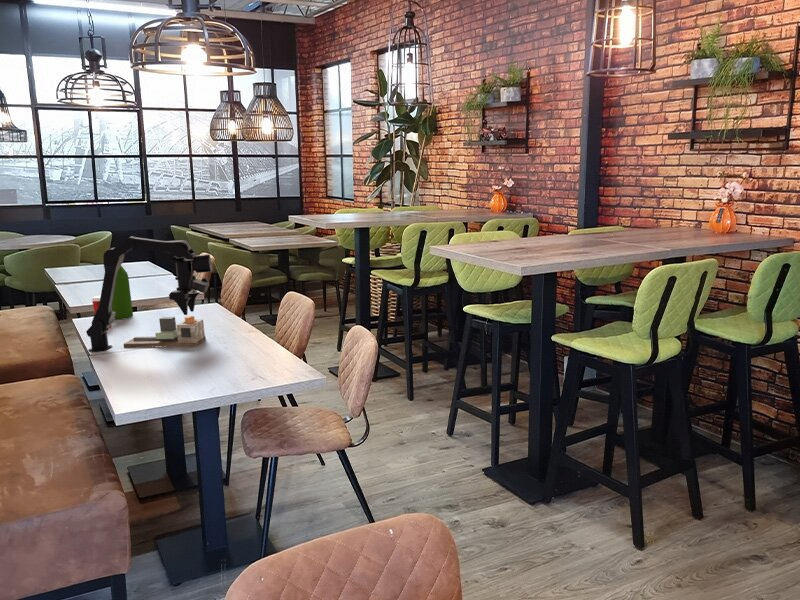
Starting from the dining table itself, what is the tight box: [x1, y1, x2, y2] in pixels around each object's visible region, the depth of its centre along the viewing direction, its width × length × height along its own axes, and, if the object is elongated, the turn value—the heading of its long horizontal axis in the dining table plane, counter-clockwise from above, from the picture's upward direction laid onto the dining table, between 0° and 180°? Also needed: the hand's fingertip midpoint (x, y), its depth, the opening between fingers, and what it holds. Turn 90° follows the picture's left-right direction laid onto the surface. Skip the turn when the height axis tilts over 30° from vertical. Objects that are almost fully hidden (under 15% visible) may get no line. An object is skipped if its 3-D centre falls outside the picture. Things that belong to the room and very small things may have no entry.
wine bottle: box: [111, 265, 134, 320], centre depth 312 cm, size 9×9×32 cm
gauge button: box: [184, 315, 195, 324], centre depth 261 cm, size 4×4×5 cm
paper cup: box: [91, 294, 112, 329], centre depth 294 cm, size 8×8×14 cm
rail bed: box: [123, 318, 207, 348], centre depth 263 cm, size 10×29×8 cm, turn 84°
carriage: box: [155, 316, 178, 339], centre depth 262 cm, size 8×7×7 cm
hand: (189, 313), depth 260 cm, fingers open, 6 cm apart
